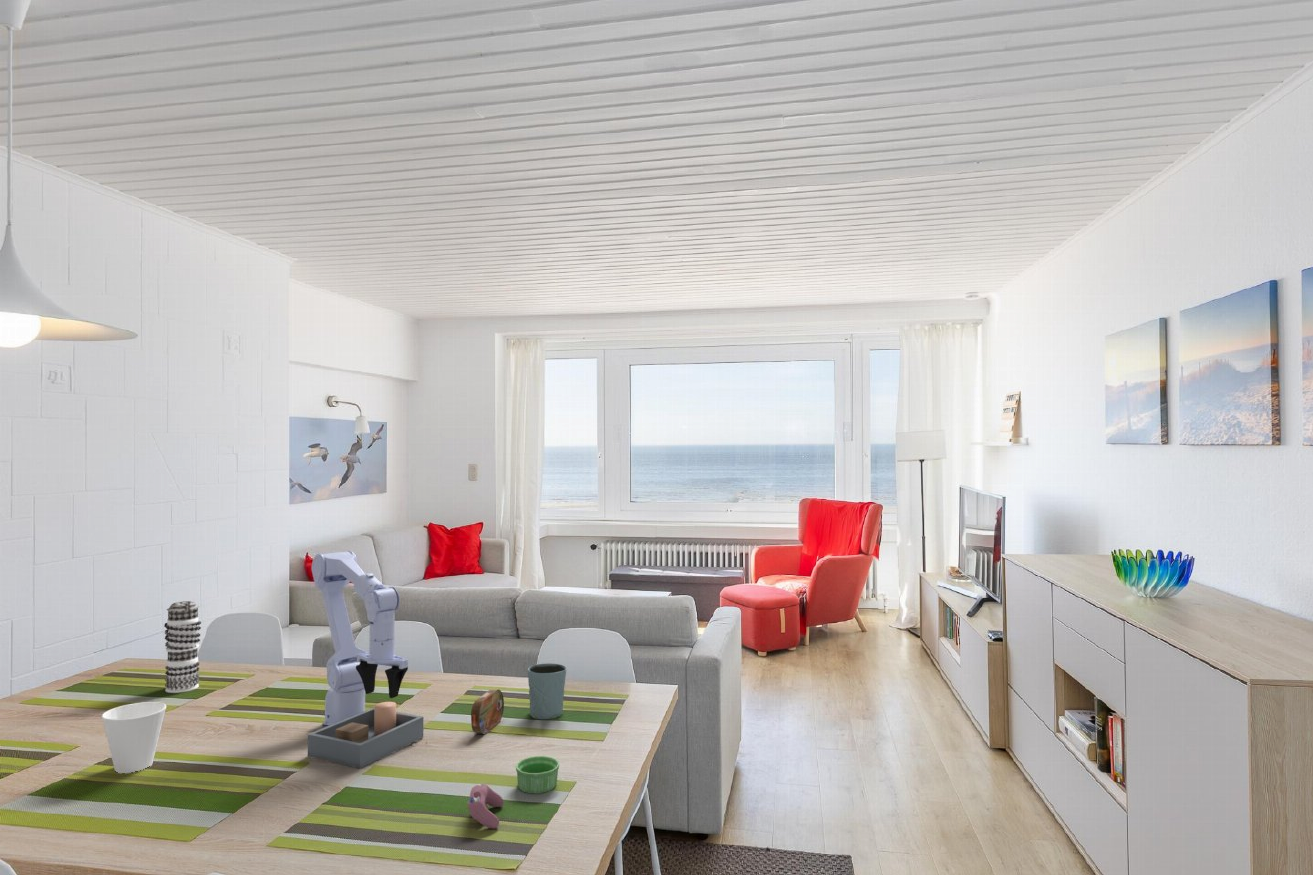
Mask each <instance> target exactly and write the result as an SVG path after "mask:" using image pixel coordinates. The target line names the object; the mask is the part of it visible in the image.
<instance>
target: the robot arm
mask: <svg viewBox="0 0 1313 875" xmlns="http://www.w3.org/2000/svg"><path fill="white" fill-rule="evenodd" d="M311 573H312V577H313V581H314V585H315V588H316V589H317V590H320V592H321V596H322V600H323V604H324V609H325V610H324V611H325V614H326V618H327V623H328V626H329V631H330V635H331V639H332V645H333V649H334V653H333V654H332V656H331V657H329V659H328V660H327V661H326V681H327V684H328V686H329V689H328V690H327V692H326V695H325V699H324V721H322V725H324V726H325V725H326V726H330V725H332V724H334V723H337V722H339V721H342V720H344V719H347V718H349V717H352V716H354V715H357V714H359V713H362V712H364V711H366V695H369V694H372V693H374V692H375V687H376V677H377V676H376V674H377V669H378V666H386V667H391V668H387V669H385V670H384V673H385V676H386V678H387V679H386V680H387V685H388V696H389V697H388V698H389V699H395V698H396V697H398V696H399V693H400V687H401V685H402V682H403V679H404V677H405V676H406V673H408V672H407V671H408V670H409V659H408V658H404V657H401V656H398V655H396V654H395V616H396V615H395V612H396V611H397V610H398V608H399V607H400V602H401V600H400V594H399V592H398V590H397V588H396V587H395V586H386V585H384V584H383V583H382V582H381V581H380V580H379V579H378V578H377V577H376V576H375V575H374V574H373V573H372V572H369V573H365V572H364V571H363V569H362V568H361V567H360V565H359V564H358V557H357V555H356V554H355V552H353V550H347V551H339V552H329V553H316V555H315V556H314V557H313V559H312V564H311ZM350 583H352V584H353V586H352V587H353V591H354V592H355V593H356V594H357V595H358V596H359V598H361V600H363V601H364V606H365V610H366V613H367V614H366V618H367V621H369V650H368V652H367V651H366V650H363V649H362V648H359V647H357V645H356V643H355V638H354V633H353V629H352V625H351V620H350V618H349V612H348V609H347V608H348V607H347V604H346V601H345V595H344V591H343V589H344V587H347V586H348V585H349V584H350Z"/></svg>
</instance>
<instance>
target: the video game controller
mask: <svg viewBox="0 0 1313 875" xmlns="http://www.w3.org/2000/svg"><path fill="white" fill-rule="evenodd" d="M488 806H490V807H493V808H496V807H500V808H502V807H503V806H504V799H503V797H502V796H501V795H500V794H499V793H498V792H496V791H494V790H493V789H492V788H490V787H489V785H488V784H487V783H486V784H485V782H482V783H478V784H476V785H475V786H473V787H472V788H471V790H470V793H469V801H467V807H468V811H469V814H470V815H471V817H472V818H473V820H476V821H477V822H478V823H479V824H481V825H483V826H484V827H486V828H488V829H491V830H492V829H493V830H494V829H497V828H498V827H499V825H500V820H499V818H498V816H496V815H495V814H494V813H493V812H492V811H491V810H489V807H488Z"/></svg>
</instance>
